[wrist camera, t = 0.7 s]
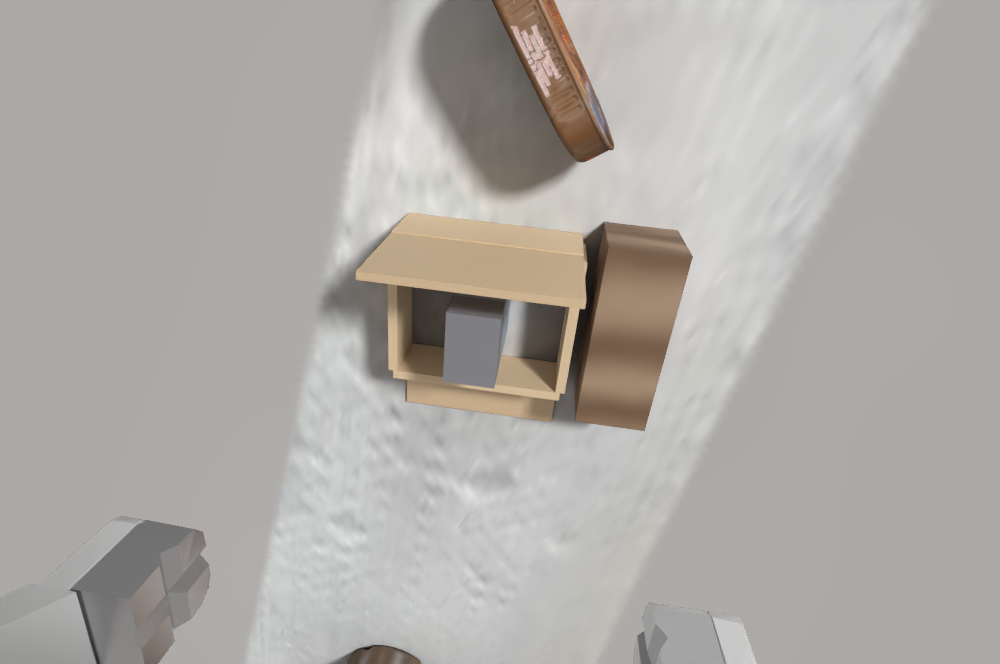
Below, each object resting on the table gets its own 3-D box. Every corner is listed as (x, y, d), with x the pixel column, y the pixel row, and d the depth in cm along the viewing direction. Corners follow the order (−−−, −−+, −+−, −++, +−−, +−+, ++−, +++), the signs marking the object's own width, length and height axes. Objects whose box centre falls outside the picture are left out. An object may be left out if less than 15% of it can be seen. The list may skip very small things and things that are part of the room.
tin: (614, 135, 41) (623, 156, 34) (576, 156, 42) (578, 180, 35) (520, -75, 36) (508, -104, 28) (480, -46, 37) (457, -67, 29)
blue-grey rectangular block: (468, 262, 47) (445, 312, 39) (513, 267, 47) (501, 319, 38) (464, 322, 50) (443, 381, 42) (507, 327, 50) (494, 388, 41)
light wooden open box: (404, 212, 46) (349, 269, 35) (587, 234, 45) (593, 300, 34) (403, 399, 55) (360, 491, 44) (555, 420, 54) (551, 520, 43)
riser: (604, 222, 44) (608, 246, 39) (678, 230, 44) (692, 256, 39) (574, 382, 52) (574, 421, 47) (636, 391, 52) (644, 431, 46)
